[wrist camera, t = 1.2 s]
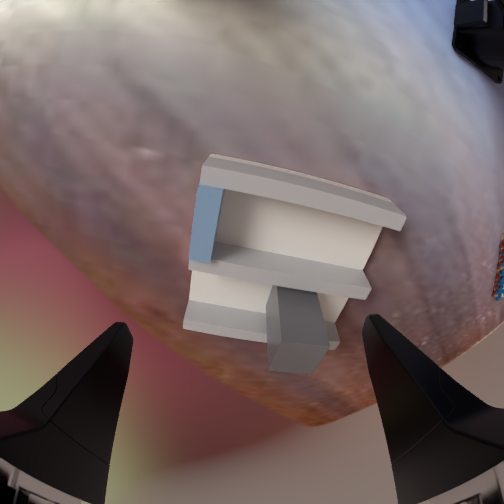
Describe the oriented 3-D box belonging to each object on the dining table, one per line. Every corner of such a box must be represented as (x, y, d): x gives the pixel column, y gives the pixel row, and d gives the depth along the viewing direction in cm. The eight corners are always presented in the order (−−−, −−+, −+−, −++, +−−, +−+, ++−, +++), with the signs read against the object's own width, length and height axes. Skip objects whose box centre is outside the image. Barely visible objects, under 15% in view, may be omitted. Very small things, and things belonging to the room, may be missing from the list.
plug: (314, 282, 23) (330, 346, 17) (301, 311, 25) (312, 374, 19) (275, 275, 23) (281, 341, 17) (265, 305, 25) (267, 370, 19)
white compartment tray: (387, 198, 20) (410, 219, 17) (328, 323, 28) (335, 354, 24) (211, 153, 19) (201, 167, 15) (190, 301, 26) (181, 332, 23)
